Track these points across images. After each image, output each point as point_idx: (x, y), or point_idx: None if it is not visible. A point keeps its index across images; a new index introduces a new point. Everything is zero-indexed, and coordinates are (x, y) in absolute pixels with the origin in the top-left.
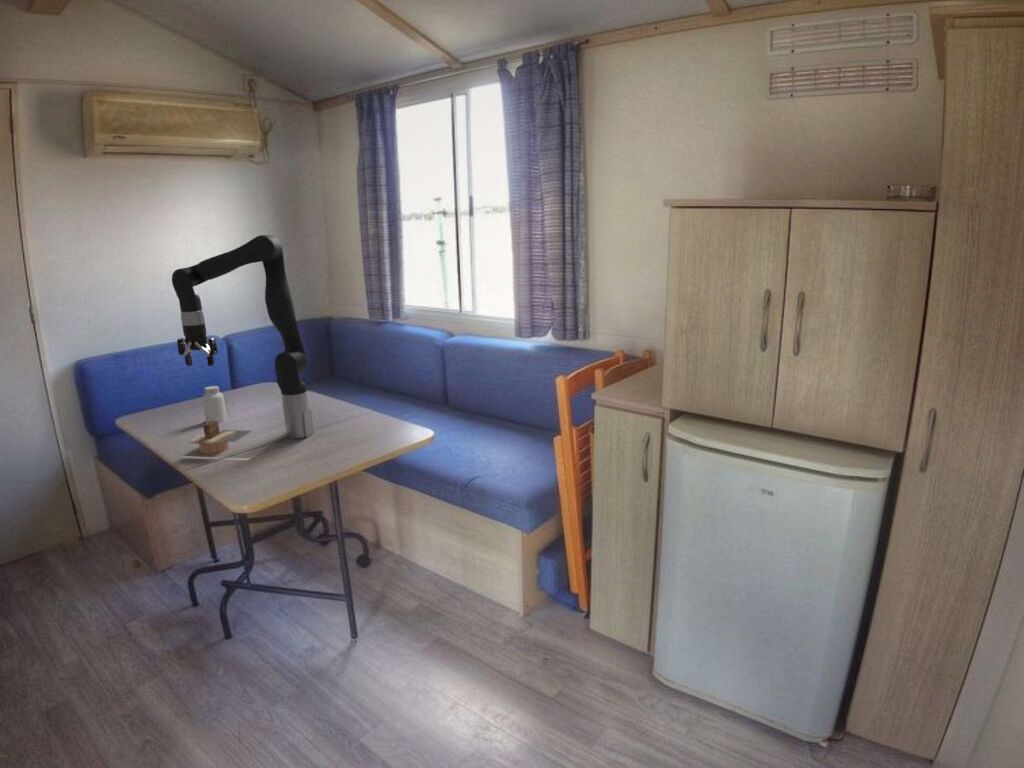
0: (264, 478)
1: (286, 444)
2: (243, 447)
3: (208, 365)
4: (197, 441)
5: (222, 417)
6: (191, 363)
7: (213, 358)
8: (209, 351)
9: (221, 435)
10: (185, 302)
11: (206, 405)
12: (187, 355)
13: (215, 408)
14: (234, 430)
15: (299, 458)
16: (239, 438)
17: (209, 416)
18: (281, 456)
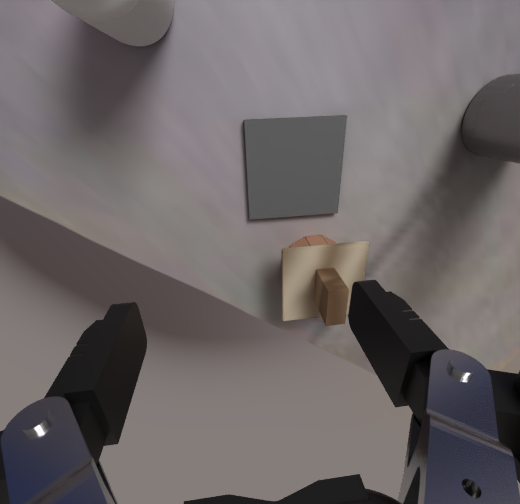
0: (462, 344)
1: (471, 196)
2: (369, 230)
3: (354, 328)
4: (306, 318)
5: (170, 6)
6: (133, 321)
7: (432, 332)
8: (456, 420)
9: (345, 276)
10: None
11: (103, 28)
12: (99, 448)
13: (149, 19)
14: (285, 120)
15: (511, 265)
16: (339, 189)
17: (129, 40)
18: (473, 263)
